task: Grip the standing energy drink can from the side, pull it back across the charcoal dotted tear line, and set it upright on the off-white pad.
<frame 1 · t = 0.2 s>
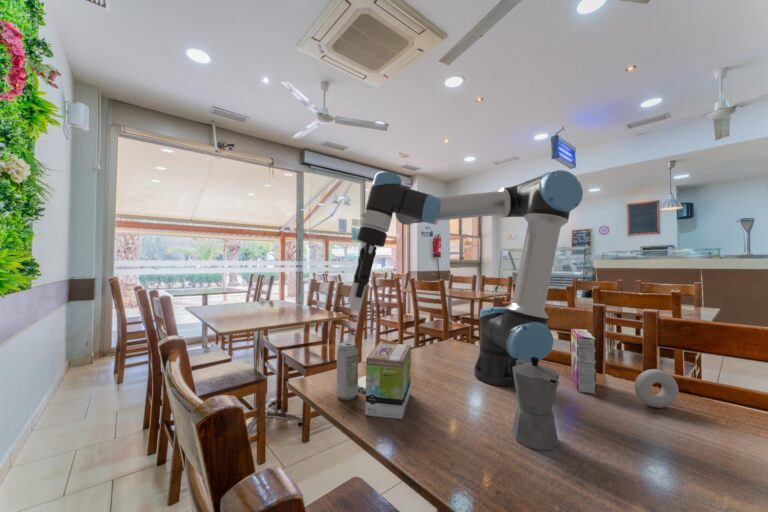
hand: (353, 306, 86), 27 cm above the table, tool tilted 15°, fingers open, 13 cm apart
energy drink can: (347, 396, 93), on the table
candy bar box: (582, 387, 99), on the table
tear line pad: (367, 385, 100), on the table
donut: (656, 408, 85), on the table
tea box: (389, 405, 87), on the table
coffeepot: (531, 436, 72), on the table
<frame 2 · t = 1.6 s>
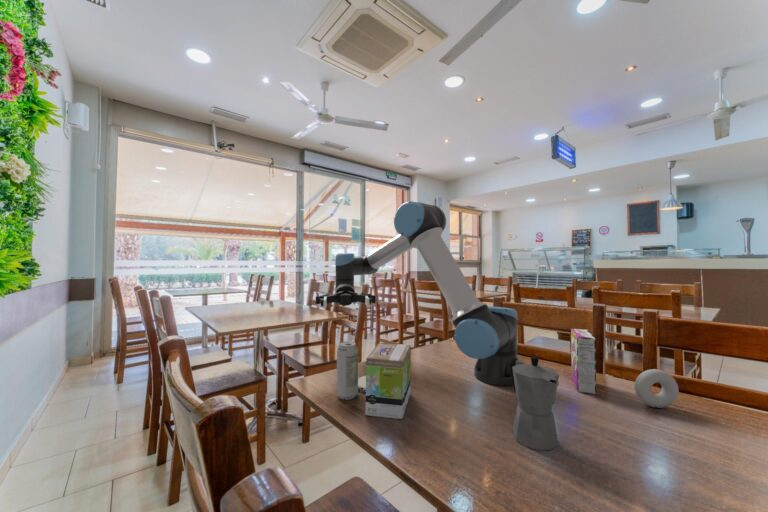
hand: (346, 303, 102), 25 cm above the table, tool horizontal, fingers open, 13 cm apart
nothing on the table moved.
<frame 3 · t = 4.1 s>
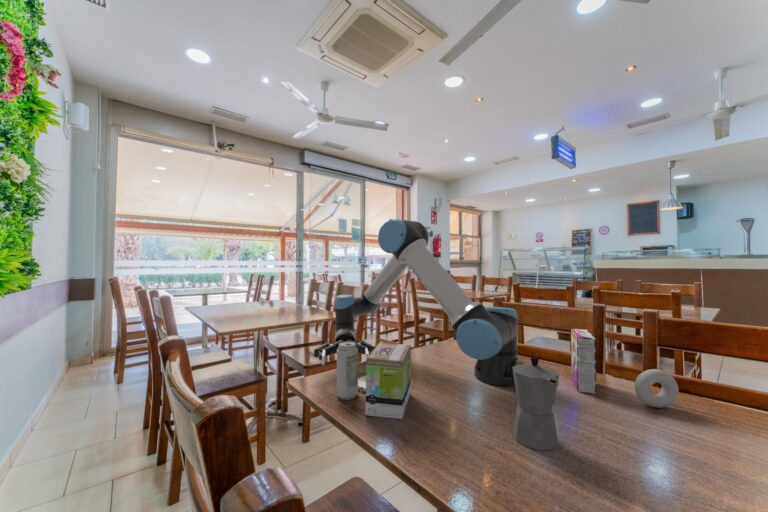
hand: (345, 359, 99), 8 cm above the table, tool horizontal, fingers open, 13 cm apart
nothing on the table moved.
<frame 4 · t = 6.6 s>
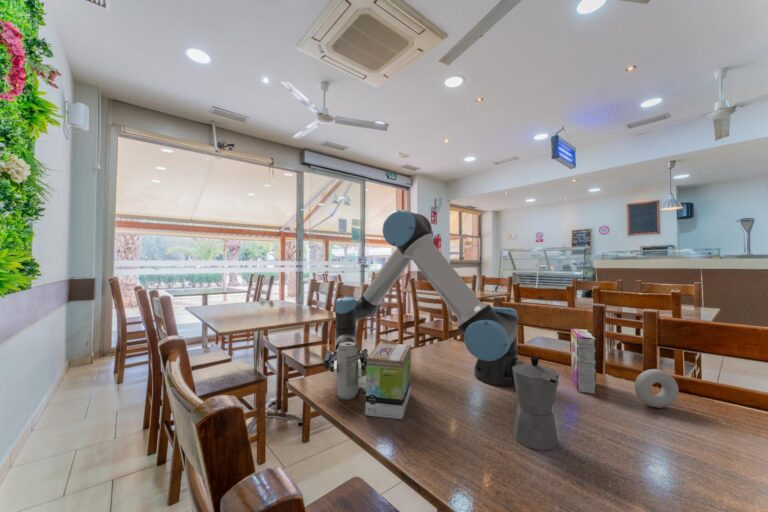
hand: (347, 372, 88), 9 cm above the table, tool horizontal, fingers closed on energy drink can, 6 cm apart
energy drink can: (347, 396, 93), on the table, touching gripper
everything else where it was.
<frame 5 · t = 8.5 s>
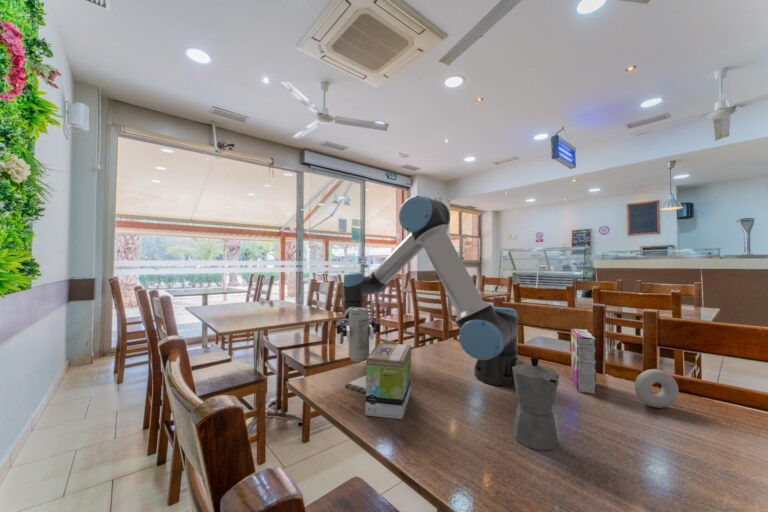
hand: (360, 334, 91), 18 cm above the table, tool horizontal, fingers closed on energy drink can, 6 cm apart
energy drink can: (359, 359, 96), point 9 cm above the table, touching gripper
everything else where it was.
when the fingers open (10 cm above the table, at t = 10.8 s): energy drink can drops 1 cm, resting on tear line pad.
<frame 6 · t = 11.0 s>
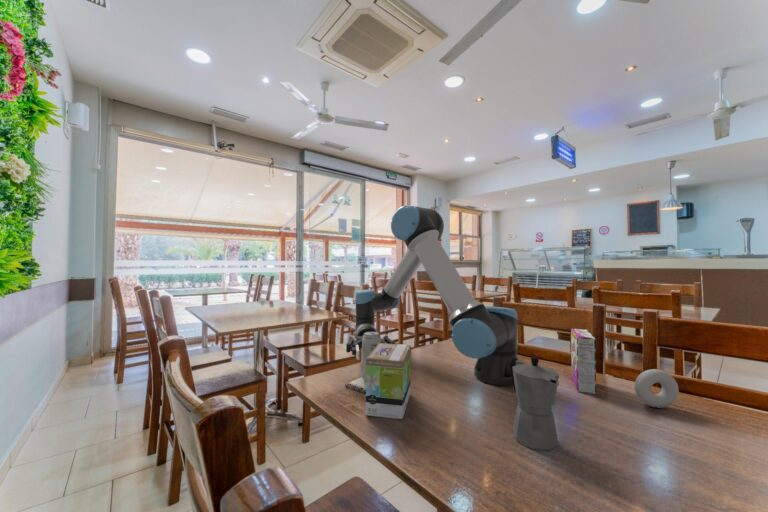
hand: (373, 354, 97), 10 cm above the table, tool horizontal, fingers open, 8 cm apart
energy drink can: (371, 381, 101), resting on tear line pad
everything else where it was.
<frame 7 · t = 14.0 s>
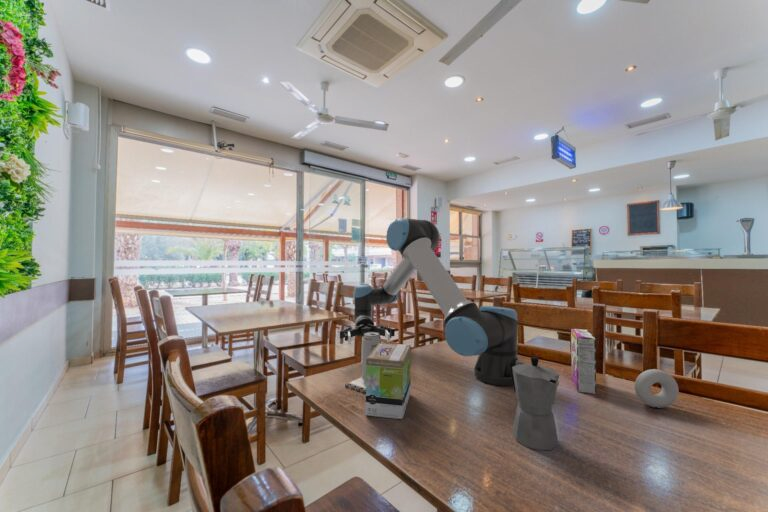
hand: (369, 339, 111), 11 cm above the table, tool horizontal, fingers open, 13 cm apart
nothing on the table moved.
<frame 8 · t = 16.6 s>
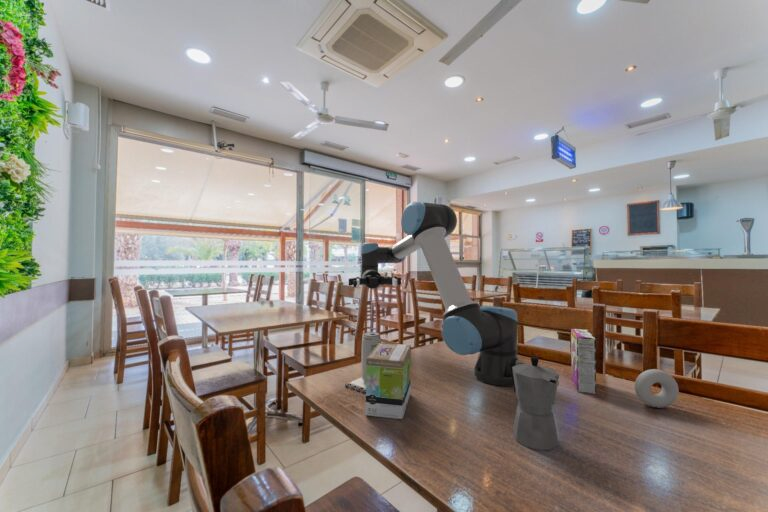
hand: (377, 283, 116), 30 cm above the table, tool horizontal, fingers open, 13 cm apart
nothing on the table moved.
at the end: energy drink can inside the target area (0.1 cm from its centre), resting on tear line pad; energy drink can tilted 0°; the gripper is holding nothing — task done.
